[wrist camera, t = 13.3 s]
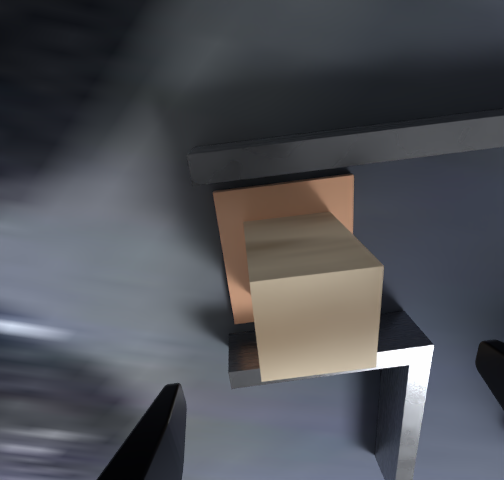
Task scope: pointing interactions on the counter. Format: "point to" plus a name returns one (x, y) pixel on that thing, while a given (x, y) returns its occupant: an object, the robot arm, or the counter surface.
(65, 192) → the counter surface
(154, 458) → the robot arm
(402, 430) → the channel
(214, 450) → the counter surface
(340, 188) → the pad
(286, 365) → the maple block
